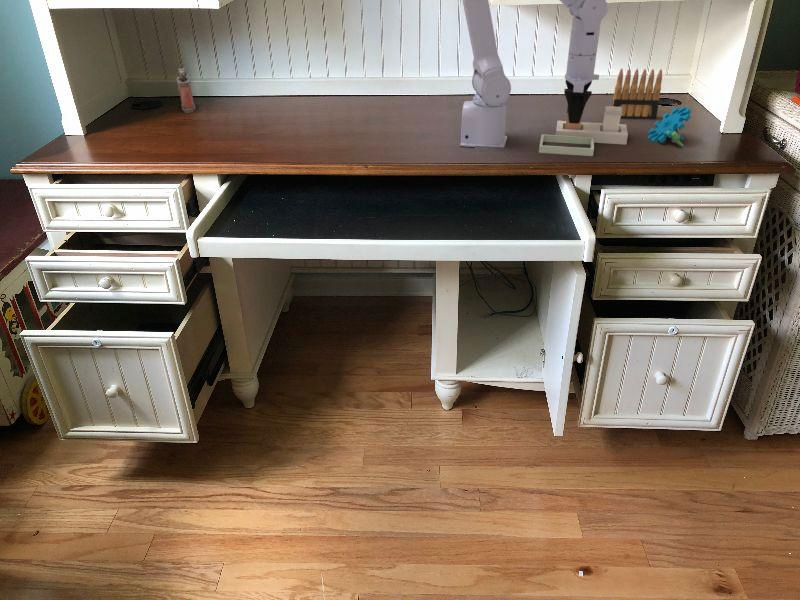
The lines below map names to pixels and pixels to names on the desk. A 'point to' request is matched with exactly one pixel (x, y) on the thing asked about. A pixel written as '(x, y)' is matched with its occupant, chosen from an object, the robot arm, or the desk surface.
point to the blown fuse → (572, 125)
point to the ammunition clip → (640, 98)
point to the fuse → (612, 118)
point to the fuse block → (595, 132)
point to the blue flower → (670, 126)
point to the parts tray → (567, 149)
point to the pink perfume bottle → (185, 91)
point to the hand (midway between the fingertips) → (574, 117)
